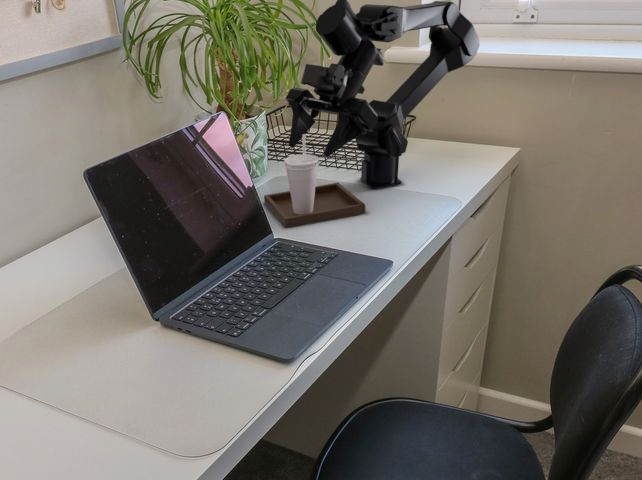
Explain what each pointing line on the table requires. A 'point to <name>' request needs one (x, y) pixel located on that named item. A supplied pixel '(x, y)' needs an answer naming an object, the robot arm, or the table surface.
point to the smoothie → (302, 179)
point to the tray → (316, 205)
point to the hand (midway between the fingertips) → (307, 150)
